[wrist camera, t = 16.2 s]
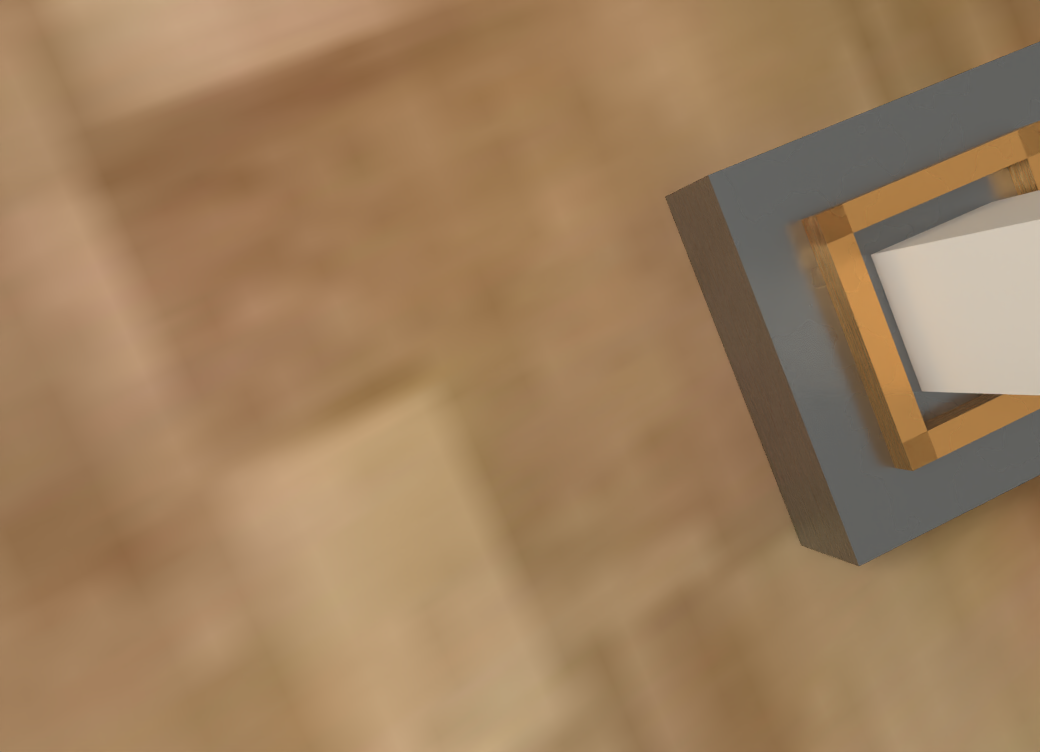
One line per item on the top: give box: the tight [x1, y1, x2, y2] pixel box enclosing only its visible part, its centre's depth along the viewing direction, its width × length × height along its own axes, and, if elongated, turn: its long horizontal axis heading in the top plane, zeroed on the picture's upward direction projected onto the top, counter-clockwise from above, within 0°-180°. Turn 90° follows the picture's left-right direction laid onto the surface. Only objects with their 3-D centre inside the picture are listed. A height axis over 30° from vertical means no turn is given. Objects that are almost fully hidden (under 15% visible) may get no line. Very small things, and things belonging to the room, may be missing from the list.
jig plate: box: [665, 42, 1040, 566], centre depth 35 cm, size 14×14×5 cm
